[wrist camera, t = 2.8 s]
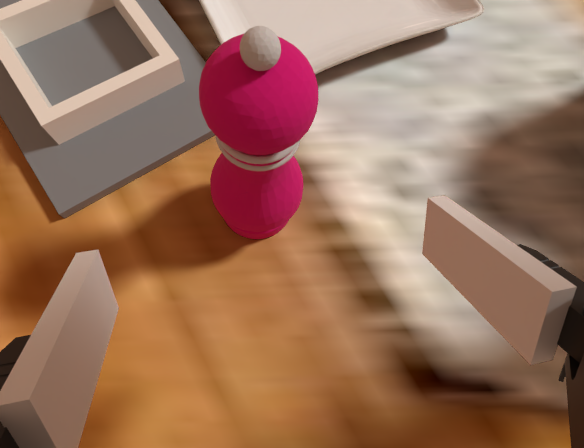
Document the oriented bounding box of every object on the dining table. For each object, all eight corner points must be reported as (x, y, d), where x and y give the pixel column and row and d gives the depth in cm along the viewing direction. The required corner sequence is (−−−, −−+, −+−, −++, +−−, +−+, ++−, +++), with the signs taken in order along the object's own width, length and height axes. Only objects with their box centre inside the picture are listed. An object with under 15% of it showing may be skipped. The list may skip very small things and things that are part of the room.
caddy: (120, -45, 42) (107, -84, 38) (244, 118, 37) (243, 92, 34) (-52, 22, 38) (-86, -15, 34) (64, 218, 33) (40, 201, 29)
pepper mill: (198, 206, 34) (130, 29, 15) (255, 154, 36) (257, -59, 18) (258, 262, 33) (265, 144, 14) (313, 204, 35) (382, 36, 16)
